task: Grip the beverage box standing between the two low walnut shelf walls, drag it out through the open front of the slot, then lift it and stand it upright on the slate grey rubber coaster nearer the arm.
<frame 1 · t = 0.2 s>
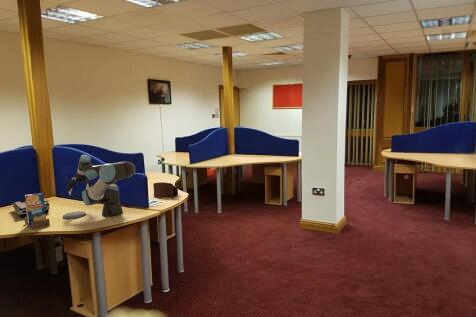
hand: (78, 192, 281), 16 cm above the table, tool tilted 35°, fingers open, 13 cm apart
slate coaster: (74, 215, 270), on the table
beverage box: (37, 225, 251), on the table
walnut slot: (37, 224, 251), on the table
letter holder: (166, 196, 323), on the table
office tray: (31, 212, 286), on the table
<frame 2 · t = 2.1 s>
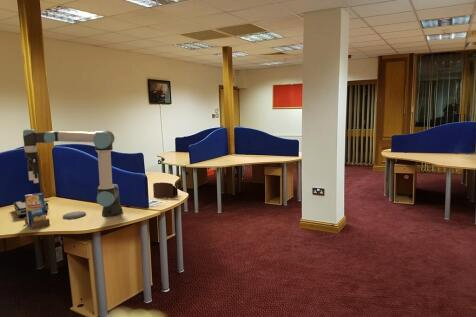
hand: (33, 181, 248), 31 cm above the table, tool pointing down, fingers open, 13 cm apart
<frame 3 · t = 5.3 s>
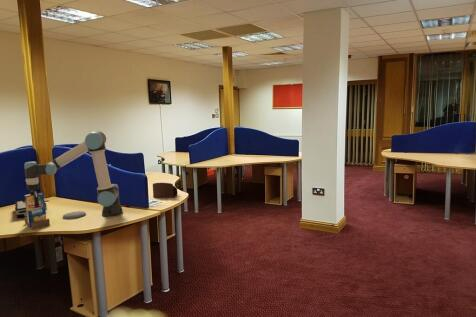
hand: (36, 215, 250), 6 cm above the table, tool pointing down, fingers closed on beverage box, 2 cm apart
beverage box: (37, 225, 251), on the table, touching gripper
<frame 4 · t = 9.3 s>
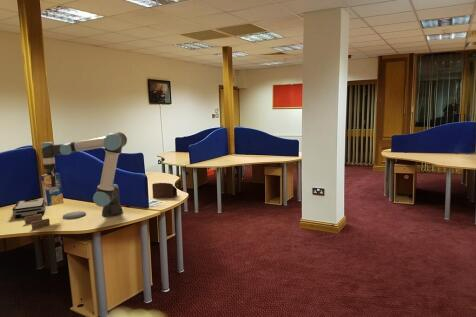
hand: (53, 195, 257), 19 cm above the table, tool pointing down, fingers closed on beverage box, 2 cm apart
beverage box: (54, 204, 258), point 12 cm above the table, touching gripper
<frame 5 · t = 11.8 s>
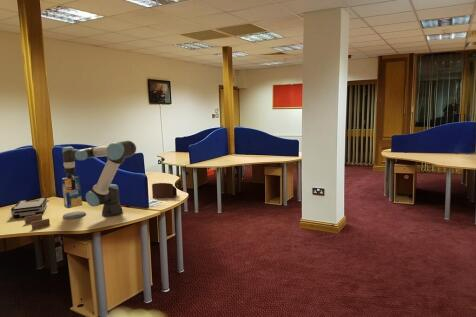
hand: (72, 197, 268), 14 cm above the table, tool pointing down, fingers closed on beverage box, 2 cm apart
beverage box: (73, 206, 269), point 8 cm above the table, touching gripper
when the fingers open (9 cm above the table, at t = 13.4 s): beverage box drops 1 cm, resting on slate coaster.
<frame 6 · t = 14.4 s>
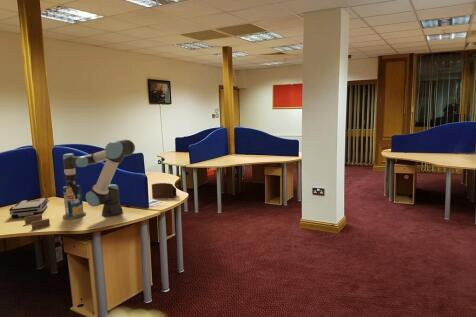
hand: (73, 201, 268), 11 cm above the table, tool pointing down, fingers open, 13 cm apart
beverage box: (74, 214, 270), point 1 cm above the table, touching slate coaster
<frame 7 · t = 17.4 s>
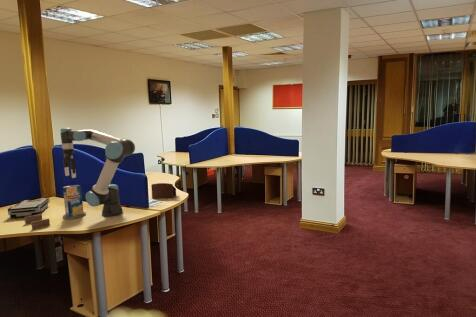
hand: (70, 176, 266), 31 cm above the table, tool pointing down, fingers open, 13 cm apart
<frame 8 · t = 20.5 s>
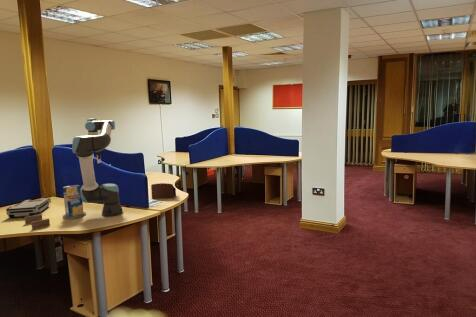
hand: (95, 162, 296), 37 cm above the table, tool pointing down, fingers open, 13 cm apart
at the end: beverage box inside the target area on the slate coaster (0.3 cm from its centre), point 1.0 cm above the slate coaster's base; beverage box tilted 0°; the gripper is holding nothing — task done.
